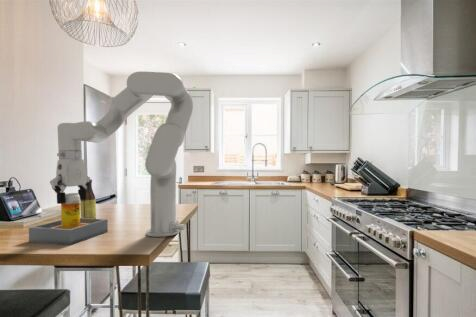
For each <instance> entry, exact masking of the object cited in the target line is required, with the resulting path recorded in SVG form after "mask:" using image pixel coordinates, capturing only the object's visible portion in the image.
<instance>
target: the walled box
mask: <svg viewBox="0 0 476 317" xmlns="http://www.w3.org/2000/svg"><path fill="white" fill-rule="evenodd" d="M108 222H109V221H108V219H107V218H96V219H91V218H81V217H80V226H79V227H76V228H72V229H64V228H61V219H58V220H54V221H50V222H46V223H43V224H37V225H34V226H29V227H28V242H29V243H38V244H39V243H41V244H42V243H43V244H54V245H66V246H67V245H68V246H72V245H74V244H78V243H80V242H83V241H87V240H89V239H91V238H92V239H93V238H95V237H97V236H100V235H103V234H105V233H108V232H109V231H108V230H109V228H108V226H109V225H108V224H109V223H108Z"/></svg>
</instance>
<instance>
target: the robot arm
mask: <svg viewBox="0 0 476 317" xmlns="http://www.w3.org/2000/svg"><path fill="white" fill-rule="evenodd" d="M153 96H155V97H156V96H159V97H165V98H166V99H167V100H168V101H169V102H170V104H171V105H170V109H169V111H168V114H167V117H166V120H165V123H162V124H160V125H159V126H158V128H157V129H156V131H155V132H154V134H153V138H152V141H151V144H150V146H149V149H148V152H147V155H146V158H145V163H144V164H145V166H144V167H145V169H146V172H147V173H148V174H149V175H150V188H149V189H150V191H149V192H150V195H149V196H150V197H149V198H150V228H149V229H147V230H146V235H147V236H148V237H153V238H154V237H155V238H162V237H163V238H166V237H171V236H176V235H178V234H180V233H181V231H185V229H186V227H185V226H186V225H185V224H184V223H179V220H177V218H176V217H177V214H176V213H177V210H176V209H177V203H176V202H177V200H176V199H177V198H176V197H177V193H176V192H177V191H176V190H177V189H176V186H177V184H176V180H177V162H176V158H177V154H178V151H179V149H180V147H181V146H182V145H183V142H184V140H185V136H186V132H187V129H188V126H189V123H190V120H191V117H192V113H193V108H194V102H193V98H192V96H191V94H190V92H188V90H187V89H186V87H185V86H184V83H183V80H182V78H181V77H179V76H178V75H177V74H175V73H172V72H162V71H161V72H159V71H134V72H133V73H131V74H129V76H128V77H127V79H126V87H125V88H124V89H123V90H121V91H120V92H118V94H116V95H115V96H114V97H113V98H111V100H110V103H109V108H108V110H107V113H105V115H104V116H103V117H102V118H101V119H99V120H98V121H97V122H93V121H86V120H85V121H84V120H83V121H80V122H79V121H78V122H61V123H59V124H58V125H57V147H58V149H57V150H58V152H57V153H56V155H57V157H58V159H57V164H56V171H55V172H56V174H55V177H54V178H52V179H51V180H50V181H49V184H50V186H51V188H52V190H53V191H54V193H55V194H56V204H58V205H59V204H60V205H61V204H65V203H66V199H65V194H66V192H65V190H66V189H67V187H69V188H70V187H76V186H77V188H79V189H78V190H77V193H79V196H80V200H85V199H86V189H87V186H88V185H89V180H90V179H91V177H90V176H88V175H87V169H86V165H85V164H86V163H85V160H84V159H83V155H82V153H83V152H82V142H88V143H93V144H94V143H98V144H99V143H102V142H104V141H106V139H108V138H109V137H111V136H112V135H113V134H115V132H117V131H118V129H119V128H121V126H122V125H123V124H124V123H125V121H126V120H127V119H128V117H129V116H130V115H132V114H133V113H134V112H136V110H138V109H139V108H140V107H141V106H144V104H145V103H146V102H148V101H149V100H151V98H152V97H153Z"/></svg>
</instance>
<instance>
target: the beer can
mask: <svg viewBox="0 0 476 317" xmlns="http://www.w3.org/2000/svg"><path fill="white" fill-rule="evenodd" d="M65 199H66V203H65V204H60V205H61V206H60V208H61V210H60V212H61V213H60V215H61V218H60V220H61V228H64V229H72V228H76V227H79V226H80V218H81V206H80V196H79V193H78V192H76V193H75V192H69V193H65Z"/></svg>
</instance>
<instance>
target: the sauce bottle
mask: <svg viewBox="0 0 476 317" xmlns="http://www.w3.org/2000/svg"><path fill="white" fill-rule="evenodd" d="M92 183H93V179H91V178H90V180H89V185H88V186H87V189H86V199H85V200H80V218H91V219H97V205H96V203H97V202H96V195H95V192H94V190H93V185H92Z"/></svg>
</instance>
